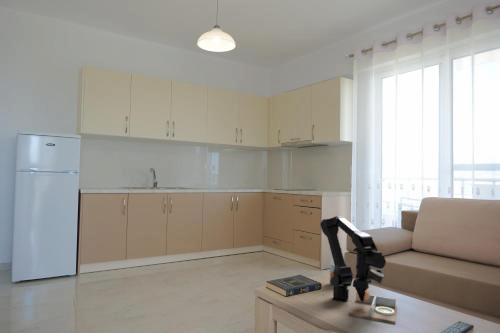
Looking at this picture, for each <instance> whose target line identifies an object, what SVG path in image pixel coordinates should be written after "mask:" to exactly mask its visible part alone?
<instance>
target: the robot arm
mask: <svg viewBox="0 0 500 333" xmlns="http://www.w3.org/2000/svg"><path fill="white" fill-rule="evenodd" d="M319 225H320V227H321V231H322V233H323V234H324V235H325V236H326V238H327V241H328V245H329V249H330V253H331V258H332V257H333V261H334V264H335V268H334V271H333V274H334V277H333V278H332V279H331V280H330V279H329V284H330V286H331V287H333V289H332V290H333V294H332V295H333V296H332V300H334V301H339V302H347V301H348V300H349V298H350V289H349V288H348V287H353V288H355V291H356V293H358V295H359V298H360V300H361V301H364V296H365V291H366V290H367V291H368V290H369V288H370V285H371V283H372V281H375V282H376V283H378V284H382V281H383V279H384V277H385V274H384V273H383V271H382V269H384V268H385V265H386V262H387V260H386V258H385V256H384V255H383V253H382V252H381V251H378V248H377V245H376V244H375V241H374V240H373V237H372V236H371V235H370V234H369V233H367V232H364V231H361V230H359V229H358V228H356V227H355V225H353V224H352V223H351V222H350V221H348V220H347V219H346V217H345V216H343V215H340V216H339V215H336V216H333V217H329V218H323V219H322V221H321V222H320V224H319ZM339 229H341V230H342V231H343V232H344V233H345V234H347V236H349V237H350V238H351V241H352V243H353V245H354V246H355V247H354V248H353V250H352V251H353V252H356V264H355V269H356V271H355V272H356V274H355V279H354V277H353V276H354V274H353V272H352V268H351V266H348V265H347V264H346V262H345V259H344V255H343V252H342V251H341V243H340V241H339V237H338V233H339ZM372 267H373V268H376V269H373V268H372Z"/></svg>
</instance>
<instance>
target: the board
mask: <svg viewBox="0 0 500 333" xmlns="http://www.w3.org/2000/svg"><path fill="white" fill-rule="evenodd" d="M396 302H397V299H396V298H393V297H387V296H380V295H374V294H370V298H369V300H368V301H366V302H362V301H360V300H359V299H358V298H357V295H356V294H355V299H354V301H353V304H352V306H351V308H350V310H349V312H348V316H349V317H354V318H355V317H356V318H360V319H361V318H362V319H365V320H371V321H377V322H382V323H383V322H384V323H387V324H394V325H396V319H397V313H398V312H397V311H398V307H397V304H396Z"/></svg>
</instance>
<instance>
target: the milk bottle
mask: <svg viewBox="0 0 500 333" xmlns="http://www.w3.org/2000/svg"><path fill="white" fill-rule="evenodd" d="M341 251H342V248H341ZM329 262H330V263H329V281H330V280H331V279H332V278H333V277H334V274H333V271H334V268H335V264H334V261H333V257H332V256H331V258H330V261H329Z"/></svg>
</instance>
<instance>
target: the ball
mask: <svg viewBox="0 0 500 333" xmlns="http://www.w3.org/2000/svg"><path fill="white" fill-rule="evenodd" d="M356 295H357V298H358V299H359V300H360V298H359V295H358V293H357V292H356V293H355V296H356ZM370 295H371V294H370V292H369V291H368V289H367V290H366V291H365V296H364V301H362V302H366V301H368V300H369V298H370ZM360 301H361V300H360Z"/></svg>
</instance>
